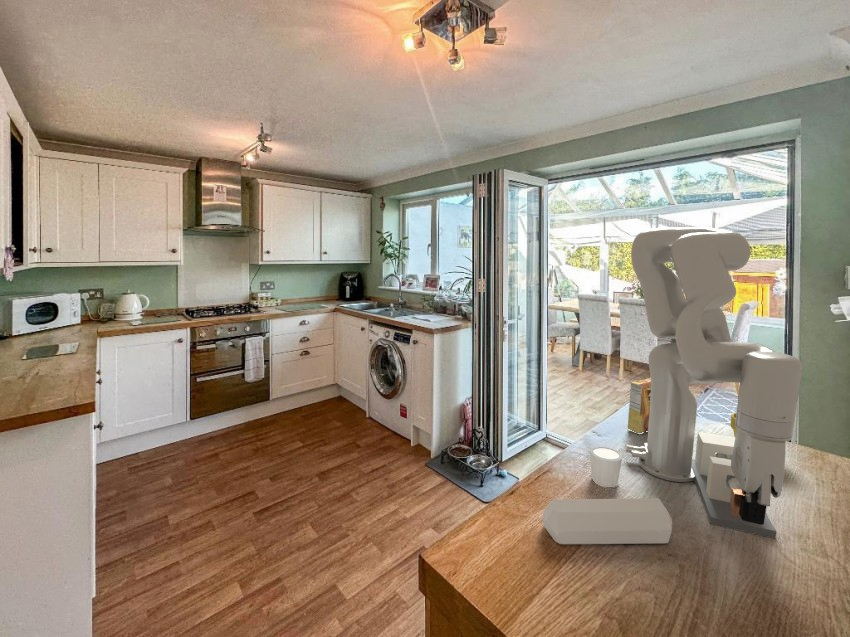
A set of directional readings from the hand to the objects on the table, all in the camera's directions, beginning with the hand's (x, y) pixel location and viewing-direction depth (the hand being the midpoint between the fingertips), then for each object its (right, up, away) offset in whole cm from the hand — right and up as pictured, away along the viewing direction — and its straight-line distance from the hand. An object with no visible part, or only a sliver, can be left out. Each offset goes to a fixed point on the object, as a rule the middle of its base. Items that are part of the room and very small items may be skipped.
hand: (751, 519), depth 70 cm
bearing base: (+7, -3, +15) cm, 17 cm away
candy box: (+7, +2, +48) cm, 48 cm away
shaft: (+5, +1, +11) cm, 12 cm away
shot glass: (-16, -2, +22) cm, 27 cm away
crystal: (-24, -5, +5) cm, 25 cm away
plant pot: (+28, 0, +33) cm, 43 cm away
